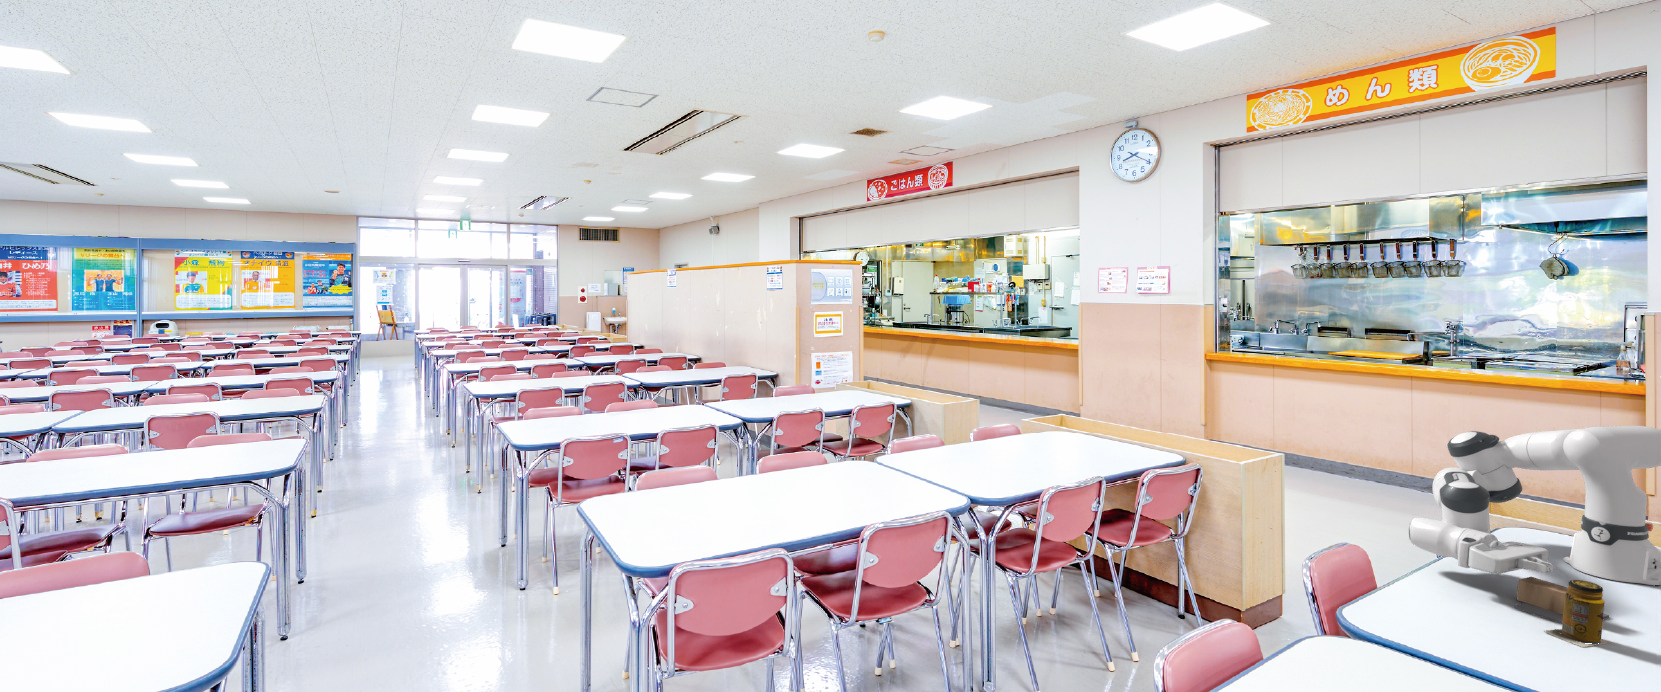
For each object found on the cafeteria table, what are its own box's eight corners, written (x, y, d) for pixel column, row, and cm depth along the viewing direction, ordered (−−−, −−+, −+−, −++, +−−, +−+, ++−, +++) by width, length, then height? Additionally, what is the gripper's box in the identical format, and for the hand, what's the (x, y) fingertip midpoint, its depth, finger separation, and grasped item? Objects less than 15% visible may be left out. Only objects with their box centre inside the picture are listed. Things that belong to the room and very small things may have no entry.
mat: (1549, 598, 182) (1549, 596, 182) (1609, 617, 172) (1609, 615, 171) (1513, 607, 177) (1513, 605, 177) (1573, 627, 167) (1573, 625, 167)
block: (1531, 576, 181) (1601, 597, 169) (1529, 596, 182) (1600, 618, 170) (1518, 579, 180) (1589, 600, 167) (1517, 599, 180) (1587, 622, 168)
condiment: (1612, 643, 159) (1617, 588, 158) (1582, 647, 158) (1587, 592, 157) (1571, 628, 167) (1576, 575, 166) (1542, 632, 165) (1546, 579, 164)
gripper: (1505, 556, 193) (1574, 575, 180) (1454, 566, 186) (1522, 587, 173) (1507, 532, 192) (1576, 549, 179) (1455, 542, 185) (1524, 561, 172)
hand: (1549, 568), depth 176 cm, fingers closed
